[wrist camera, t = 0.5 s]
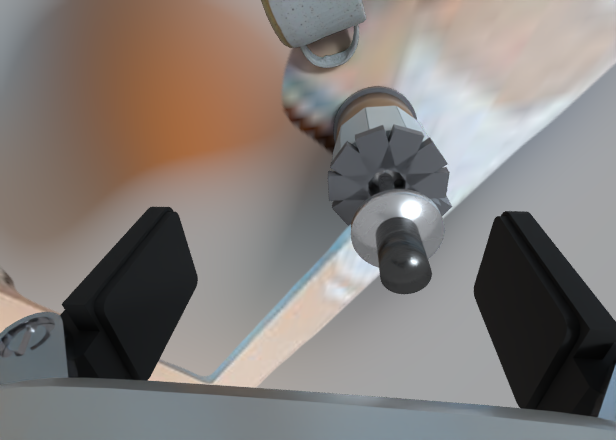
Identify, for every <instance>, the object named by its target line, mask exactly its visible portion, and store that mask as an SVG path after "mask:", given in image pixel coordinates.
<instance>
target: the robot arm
mask: <svg viewBox="0 0 616 440" xmlns="http://www.w3.org/2000/svg"><path fill="white" fill-rule="evenodd" d="M197 281H198V278H197V274H196V270H195V267H194V264H193V260H192V257H191V254H190V250H189V247H188V244H187V241H186V237H185V234H184V231H183V228H182V224H181V221H180V218H179V215H178V213H177V212H173V210H172V209H171V208H170V207H150V208H149V209H148V210H147V211H146V212H145V213H144V214H143V215H142V216H141V217H140V218H139V220H138V221H137V222H136V223H135V224H134V225H133V226H132V227H131V228H130V229H129V231H128V232H127V233H126V234H125V235H124V236H123V237H122V238H121V239H120V241H119V242H118V243H117V244H116V245H115V246H114V247H113V248H112V249H111V250H110V251H109V253H108V254H107V255H106V256H105V257H104V258H103V259H102V260H101V261H100V262H99V264H98V265H97V266H96V267H95V268H94V269H93V270H92V271H91V272H90V274H89V275H88V276H87V277H86V278H85V279H84V280H83V281H82V282H81V283H80V285H79V286H78V287H77V288H76V289H75V290H74V291H73V292H72V293H71V294H70V296H69V297H68V298H67V299H66V300H65V301H64V302H63V304H62V305H63V307H64V309H65V310H64V312H63V313H62V314H61V315H58V314H56V313H53V312H41V313H36V314H33V315H29V316H27V317H24V318H22V319H20V320H18V321H16V322H15V323H13V324H12V325H10V326H9V327H7V328H6V329H5V330H3V331H2V332H1V333H0V440H616V321H615V320H614V319H613V318H612V316H611V315H610V314H609V313H608V311H607V310H606V309H605V308H604V306H603V305H602V304H601V302H600V301H599V300H598V299H597V297H595V295H594V294H593V292H592V291H591V290H590V289H589V287H588V286H587V285H586V283H585V282H584V281H583V280H582V278H581V277H580V276H579V275H578V273H577V272H576V271H575V270H574V269H573V267H572V266H571V264H570V263H569V262H568V261H567V259H566V258H565V257H564V256H563V255H562V253H561V252H560V251H559V249H558V248H557V247H556V246H555V244H554V243H553V242H552V240H551V239H550V238H549V237H548V236H547V234H546V233H545V232H544V230H543V229H542V228H541V227H540V225H539V224H538V223H537V222H536V220H535V219H534V218H533V216H532V215H531V214H530V213H529V212H517V211H514V212H512V211H505V212H503V214H502V215H501V216H497V217H496V218H495V219H494V222H493V225H492V229H491V232H490V235H489V239H488V242H487V245H486V248H485V252H484V255H483V259H482V262H481V265H480V268H479V272H478V275H477V278H476V282H475V285H474V296H475V299H476V302H477V304H478V307H479V310H480V312H481V315H482V317H483V320H484V322H485V325H486V327H487V330H488V332H489V334H490V337H491V339H492V342H493V345H494V347H495V349H496V352H497V355H498V357H499V359H500V362H501V364H502V367H503V370H504V372H505V375H506V377H507V379H508V382H509V385H510V387H511V389H512V392H513V395H514V397H515V399H516V402H517V404H518V406H519V407H520V408H510V407H500V406H489V405H478V404H466V403H452V402H440V401H427V400H413V399H401V398H387V397H375V396H360V395H348V394H333V393H320V392H306V391H292V390H278V389H264V388H250V387H236V386H220V385H205V384H190V383H175V382H160V381H147V380H148V379H149V378H150V376H151V374H152V372H153V370H154V368H155V366H156V364H157V362H158V361H159V359H160V357H161V355H162V353H163V351H164V349H165V347H166V345H167V343H168V341H169V339H170V337H171V335H172V333H173V331H174V329H175V327H176V325H177V323H178V321H179V320H180V317H181V316H182V314H183V312H184V310H185V308H186V306H187V304H188V302H189V300H190V298H191V296H192V294H193V292H194V290H195V288H196V286H197Z"/></svg>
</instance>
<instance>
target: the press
mask: <svg viewBox="0 0 616 440" xmlns="http://www.w3.org/2000/svg"><path fill="white" fill-rule="evenodd" d="M334 141H335V147H334V151H333V159H332V162H331V169H332V171H329V172H328V187H329V201H334V202H333V205H332V208H333V209H334V211H335V212H336V213H337V214H338V215H339V216H340V217H341V218H342V219H343V221H344V222H345V223H346V224H347V225H348V226H349V225H350V224H351V223H352V219H353V216H354V214H355V212H356V210H357V209H358V208H359V206H360V205H361V204H362V203H363V202H364V201H366V200H367V199H368V198H370V197H371V196H373V193H372V192H371V191H370V190H369V189H368V182H369V181H370V180H371V179H372V177H373V176H374V175H375V174H376V173H379V172H382V171H385V170H391V171H395V172H398V173H400V174H401V176H402V177H403V178H404V184H403V187H402V189H408V190H413V191H417V192H419V193H422V194H423V195H425V196H427V197H428V198H429V199H431V200H432V201H433V202H434V203H435V205H436V206H437V207H438V209H439V211H440V214H441V216H443V215H444V214H445V213H446V212H447V211H448V210H449V209H450V208H451V207H452V206H451V204H450V202H449V200H448V198H447V196H446V192H447V185H448V179H449V171H448V169H447V168H446V167H444V166H445V165H447V162H446V161H445V159H444V157H443V156H442V155H441V153H440V152H439V150H438V149H437V147H436V146H435V144H434V143H433V141H432V140H431V138H430V137H428V135H427V134H426V132H425V130H424V129H423V127H422V125H421V123H420V122H419V121H417V117H416V114H415V111H414V109H413V107H412V105H411V104H410V102H409V101H408V100H407V99H406V98H405V97H404V96H403V95H402V94H401V93H399V92H397V91H396V90H393V89H391V88H387V87H380V86H377V87H368V88H365V89H362V90H360V91H357V92H356V93H354V94H353V95H351V96H350V97H349V98H348V99H347V100H346V101H345V102H344V103H343V104H342V105H341V107H340V109H339V110H338V112H337V115H336V118H335V121H334ZM442 167H443V168H442Z"/></svg>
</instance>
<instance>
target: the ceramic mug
mask: <svg viewBox="0 0 616 440" xmlns="http://www.w3.org/2000/svg"><path fill="white" fill-rule="evenodd" d="M261 1H262V4H263V7H264V10H265V12H266V15H267V17H268V19H269V21H270V24H271V26H272V28H273V29H274V31H275V33H276V35H277V36H278V38H279V39H280V41H281V42H282V43H283V44H284V45H286V46H288V47H290V48H296V47H301V50H302V52H303V54H304V55H305V56H306V58H307V59H308V60H309V61H310V62H311V63H312V64H314V65H316V66H318V67H322V68H331V67H336V66H339V65H341V64H344V63H345V62H347V61H348V60H349V59H350V58H351V57H352V56H353V54H354V52H355V50H356V48H357V45H358V40H359V27H358V24H360V23H362V22H364V21H365V20H366V15H365V11H364V8H363V3H362V0H261ZM352 26H354V35H353V40H352V43H351V45H350V46H349V48H348V49H346V50H345V51H343V52H340V53H337V54H334V55H331V56H327V55H326V56H324V57H323V58H322V57H318V56H316V55H315V54H313V53H312V52H311V51H310V50H309V49H308V47H307V46H306V45H307V44H310V43H312V42H315V41H317V40H319V39H321V38H323V37H326V36H328V35H331V34H334V33H336V32H339V31H342V30H344V29H346V28H349V27H352Z"/></svg>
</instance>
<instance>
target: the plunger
mask: <svg viewBox="0 0 616 440" xmlns="http://www.w3.org/2000/svg"><path fill="white" fill-rule="evenodd" d="M403 184H404V178H403V177H402V176H401V174H400V173H398V172H395V171H391V170H385V171H382V172H379V173H376V174H375V175H374V176H373V177H372V179H371V180H370V181H369V182H368V189H369V190H370V191H371V192H372V193H373V196H371V197H370V198H368V199H367V200H366V201H364V202H363V203H362V204H361V205H360V206H359V208H358V209H357V210H356V212H355V214H354V216H353V219H352V223H351V239H352V244H353V247H354V249H355V250H356V252H357V253H358V255H359V256H360V257H361V258H362V259H363V260H365V261H366V262H368V263H369V264H371V265H373V266H376V267H379V270H380V278H381V282H382V284H383V285H384V286H385V287H386V288H387V289H388V290H390V291H392V292H394V293H398V294H411V293H415V292H417V291H420V290H421V289H423V288H424V287H426V286H427V284H428V283H429V282H430V280H431V276H432V272H431V268H430V265H429V262H428V259H429V258H430V257H431V256H432V255H433V254H434V253H435V252H436V251H437V250H438V248H439V247H440V245H441V243H442V241H443V238H444V233H445V227H444V221H443V218H442V216H441V214H440V211H439V209H438V207H437V206H436V205H435V203H434V202H433V201H432V200H431V199H429V198H428V197H427V196H425V195H423V194H422V193H419V192H417V191H413V190H408V189H402V187H403Z"/></svg>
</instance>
